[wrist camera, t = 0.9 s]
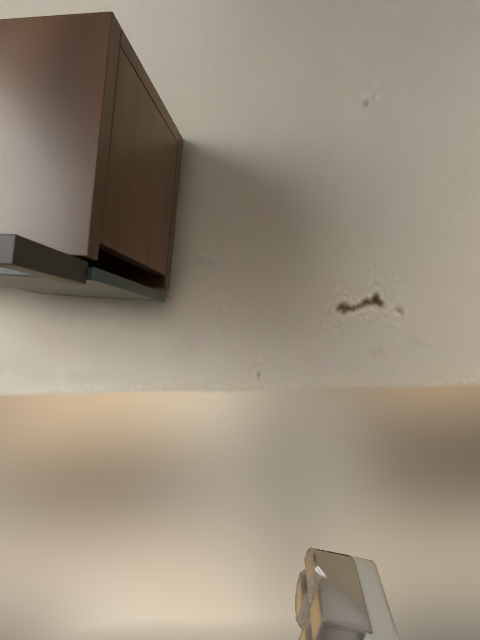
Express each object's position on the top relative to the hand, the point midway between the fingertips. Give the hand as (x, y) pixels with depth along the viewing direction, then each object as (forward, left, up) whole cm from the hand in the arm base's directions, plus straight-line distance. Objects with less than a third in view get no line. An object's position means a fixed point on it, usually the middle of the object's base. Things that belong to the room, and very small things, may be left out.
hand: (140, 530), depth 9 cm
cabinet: (+14, -13, -14) cm, 24 cm away
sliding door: (+10, -7, -14) cm, 18 cm away
